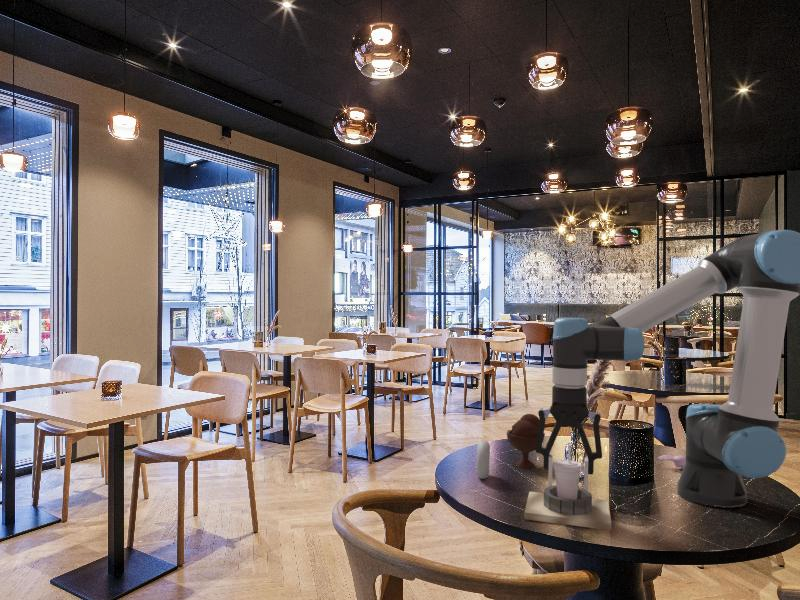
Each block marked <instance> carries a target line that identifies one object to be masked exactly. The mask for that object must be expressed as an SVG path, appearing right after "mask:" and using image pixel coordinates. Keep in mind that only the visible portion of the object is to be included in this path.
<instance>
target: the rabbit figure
mask: <svg viewBox="0 0 800 600" xmlns="http://www.w3.org/2000/svg"><path fill="white" fill-rule="evenodd" d="M657 459H658V460H659V461H662V460H667V461H672V462H673V463H674V466H675V467H676V468H680V469H681V470H682V471H683V468H684V466H685V463H686V455H685V456H684V455H676V456H674V455H673V456H672V455H669V454H664V455H663V454H662V455H660V456H658V457H657Z"/></svg>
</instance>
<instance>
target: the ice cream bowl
mask: <svg viewBox="0 0 800 600" xmlns="http://www.w3.org/2000/svg"><path fill="white" fill-rule="evenodd" d="M539 423H540V419H539V416H537V415H536V414H533V413H526V414H524V415H522V416H521V418H520V419H519V420H517V421H515V423H514V424H513V425H512V426H511V429H508V430H507V432H506V436H507V440H508V443H509V444H510V445H511V446H512V447H513V448H515V449H516V450H518V451H519V452H521V454H522V455H521V456H522V457H521V458H522V459H520V460H518V461H517V462H516V464H515V466H516V467H517V468H520V469H529V470H530V469H534V468H535V467H536V464H535V463H533V461H531V460H529V454H530V452H531V453H532V452H534V451H535V452H536V444H537V437H538V430H539ZM545 437H546V433H545V432H544V435H543V441H542V444H543V443H544V440H545Z"/></svg>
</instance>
